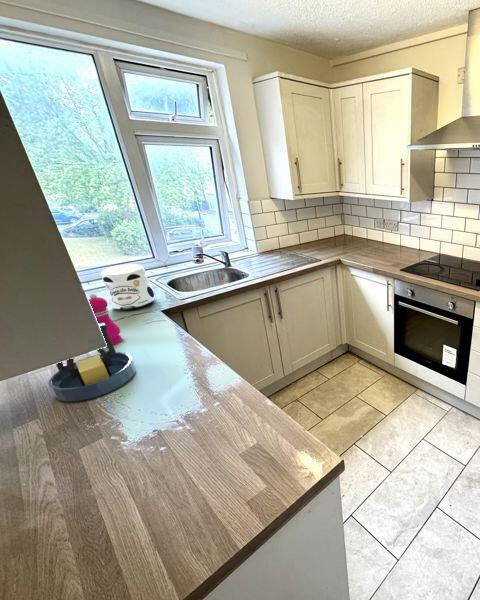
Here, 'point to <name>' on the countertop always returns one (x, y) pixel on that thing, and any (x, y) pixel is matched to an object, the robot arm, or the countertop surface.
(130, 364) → the bowl
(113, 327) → the pepper mill
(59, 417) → the countertop surface
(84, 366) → the sponge
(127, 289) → the milk container
